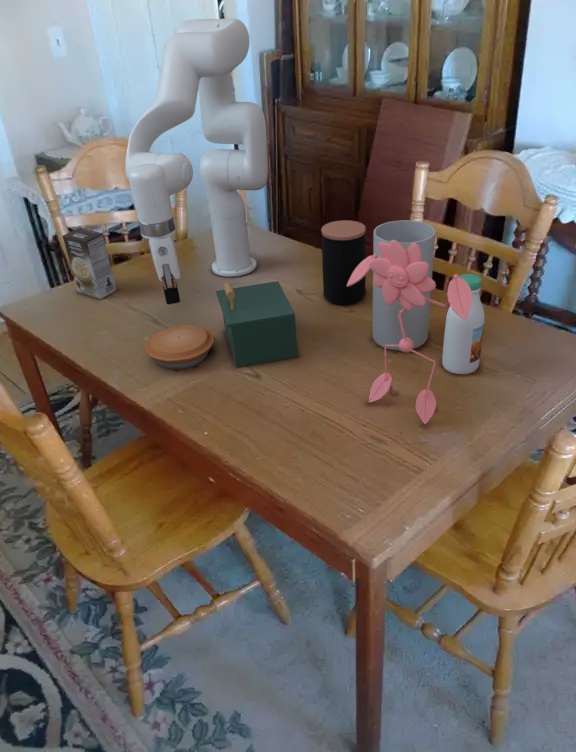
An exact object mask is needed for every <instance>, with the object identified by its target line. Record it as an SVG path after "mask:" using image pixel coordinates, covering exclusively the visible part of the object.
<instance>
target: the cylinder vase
mask: <svg viewBox="0 0 576 752" xmlns="http://www.w3.org/2000/svg"><path fill="white" fill-rule="evenodd" d="M391 240H396V241H397V242H399V243H400V244H401V245H402V246H403V248H404V249H405V251H406V249H407V248H408V247H409V246H410V245H411V244H412V243H416V244H418V246H419V247H420V250H421V255H422V262H427V263H428V265H429V271H428V275H427V276H428V277H430V278H431V279H432V280H433V269H434V268H433V267H434V254H435V243H436V242H435V240H436V229H435V228H434V227H433V226H432V225H430V224H429V223H427V222H424V221H423V222H422V221H418V220H407V219H403V220H391V221H387V222H384V223H381V224H379V225H377V226H376V227H375V228H374V229H373V241H372V242H373V243H372V244H373V247H372V248H373V250H372V252H373V254H377V258H380V257H381V258H382V256H381V254H380V252H379V250H378V244H379V243H380V242H385V243H389V244H390V241H391ZM373 254H372V255H373ZM375 274H376V273H375V272H374V271H373V270H372V334H371V335H372V339H373V341H374V342H375V344H377V345H378V346H380V347H381V348H384V346H385V345H399V342H400V340H402V339H403V338H404V337H403V333H402V329H401V325H400V322H399V318H398V314H399V311H401V310H402V309H403V308H404V307H403V306H402V305H401V303H400V302H399V301H398V299H397V300H396V301H395V302H394V304H392V305H388V304H386V303H385V301H384V298H383V294H382V287H377V286H376V285H375V284H374V276H375ZM422 294H423V296H424V297H426V298H428V299H431V297H432V291H431V292H427V293H422ZM431 300H432V299H431ZM430 311H431V303H430V302H428V301H426V304H425V306H423V307H419V306H415V305H414V306H413V308H412V310H410V311H408V310H405V311H404V312H403V313H402V314H401V317H402V322H403V327H404V332H405V337H406V338H410V339H411V340H412V341H413V343H414V347H413V349H412V350H414V349H417V348H419V347H422V346H423V345H424V344H425V343H426V341H427V340H428V338H429V325H430ZM384 349H385V348H384ZM386 350H390V351H399V352H402V351H401V350H400V349H399V347H388V346H386Z"/></svg>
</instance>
